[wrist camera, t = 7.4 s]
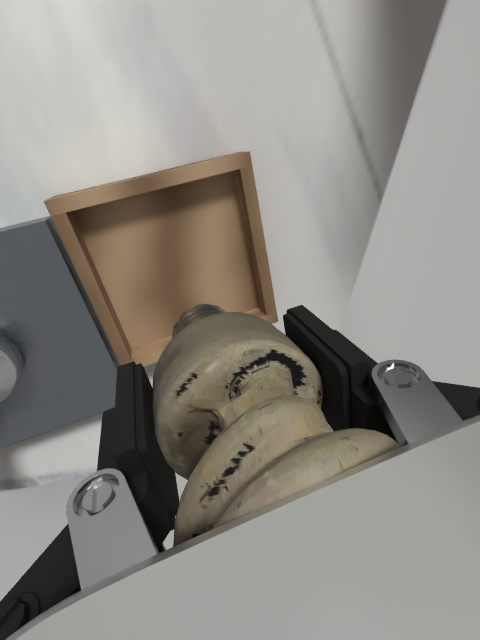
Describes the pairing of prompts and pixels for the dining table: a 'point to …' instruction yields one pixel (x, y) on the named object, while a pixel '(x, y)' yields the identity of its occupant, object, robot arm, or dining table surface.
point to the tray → (167, 250)
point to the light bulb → (244, 419)
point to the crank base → (50, 336)
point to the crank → (9, 366)
